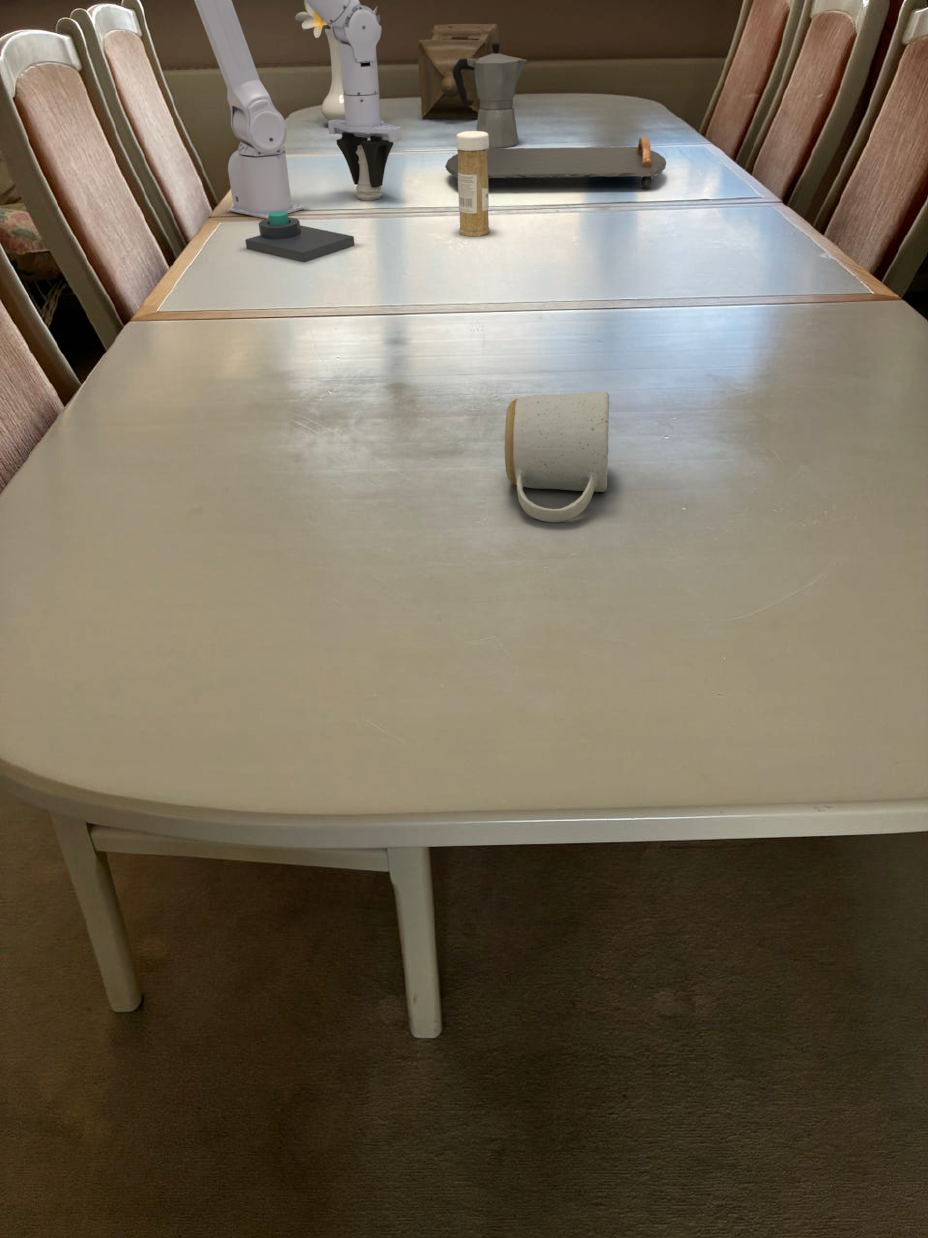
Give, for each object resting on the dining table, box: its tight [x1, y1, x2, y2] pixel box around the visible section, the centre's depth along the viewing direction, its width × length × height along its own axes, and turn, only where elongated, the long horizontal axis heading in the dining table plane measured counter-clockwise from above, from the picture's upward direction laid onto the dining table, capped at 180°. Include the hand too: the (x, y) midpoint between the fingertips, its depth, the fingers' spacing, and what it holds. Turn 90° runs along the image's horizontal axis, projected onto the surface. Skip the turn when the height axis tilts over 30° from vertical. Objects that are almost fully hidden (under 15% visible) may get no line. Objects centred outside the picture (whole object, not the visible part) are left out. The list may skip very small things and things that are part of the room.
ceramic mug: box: [504, 391, 610, 523], centre depth 75 cm, size 11×8×8 cm
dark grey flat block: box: [245, 216, 356, 263], centre depth 137 cm, size 13×10×3 cm
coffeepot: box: [452, 42, 529, 149], centre depth 192 cm, size 15×9×18 cm, turn 103°
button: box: [268, 211, 289, 225], centre depth 138 cm, size 3×3×2 cm
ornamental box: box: [417, 23, 499, 119], centre depth 225 cm, size 35×18×18 cm, turn 173°
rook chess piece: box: [355, 145, 383, 201], centre depth 160 cm, size 4×4×8 cm
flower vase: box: [294, 0, 381, 121], centre depth 213 cm, size 13×18×25 cm
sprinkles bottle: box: [455, 130, 490, 237], centre depth 138 cm, size 5×5×14 cm
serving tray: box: [444, 136, 667, 190], centre depth 169 cm, size 39×23×6 cm, turn 86°
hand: (368, 184), depth 161 cm, fingers closed on rook chess piece, 3 cm apart
